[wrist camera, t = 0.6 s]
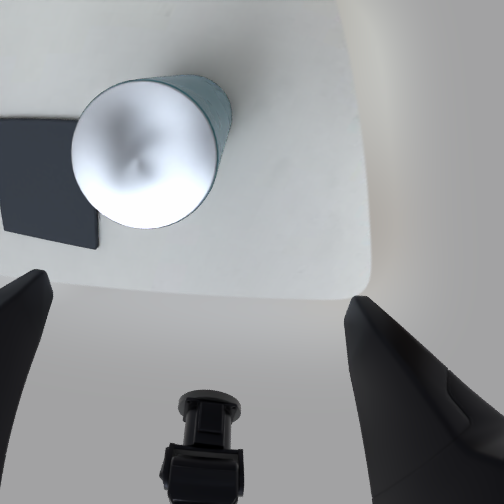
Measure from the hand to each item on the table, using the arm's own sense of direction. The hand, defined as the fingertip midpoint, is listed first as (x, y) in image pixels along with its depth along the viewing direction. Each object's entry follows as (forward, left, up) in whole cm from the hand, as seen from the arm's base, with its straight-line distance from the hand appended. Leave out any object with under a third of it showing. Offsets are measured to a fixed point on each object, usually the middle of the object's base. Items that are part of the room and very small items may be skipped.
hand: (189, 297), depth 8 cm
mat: (-4, +14, -14) cm, 20 cm away
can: (+2, +3, -14) cm, 14 cm away
